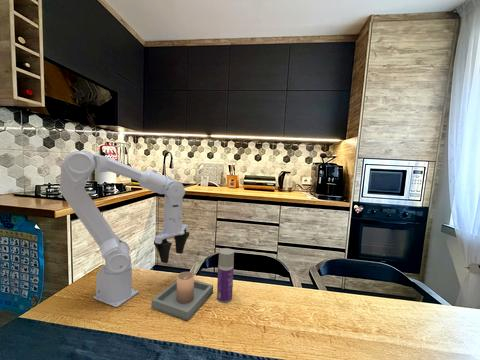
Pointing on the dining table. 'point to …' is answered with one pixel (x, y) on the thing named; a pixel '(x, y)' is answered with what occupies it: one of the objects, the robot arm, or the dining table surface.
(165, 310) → the tray
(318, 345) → the dining table surface
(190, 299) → the cup
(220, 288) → the container
